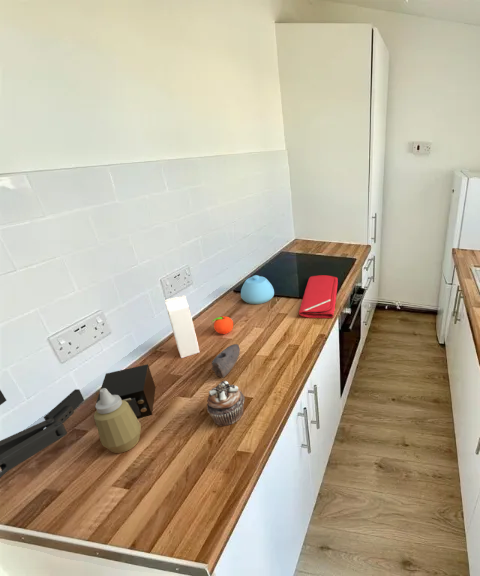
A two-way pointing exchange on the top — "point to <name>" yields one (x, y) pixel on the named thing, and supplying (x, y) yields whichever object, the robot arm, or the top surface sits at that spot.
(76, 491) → the top surface
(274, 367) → the top surface
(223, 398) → the cupcake
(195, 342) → the milk
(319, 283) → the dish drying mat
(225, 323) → the clementine
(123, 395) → the toaster oven
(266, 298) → the sugar bowl
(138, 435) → the squeeze bottle
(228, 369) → the perforated stone tool
